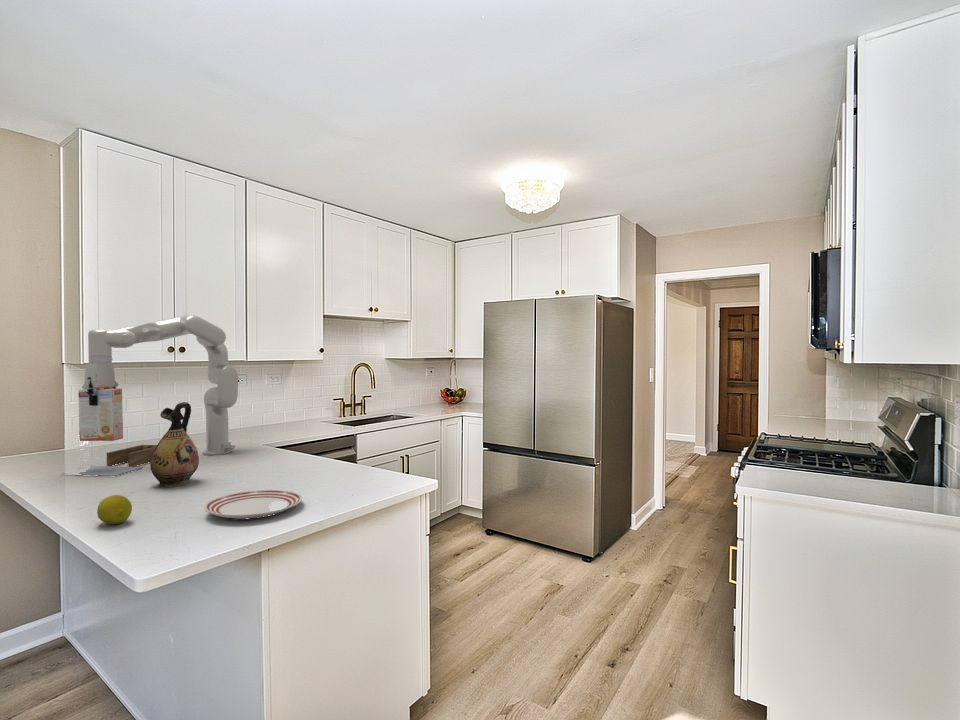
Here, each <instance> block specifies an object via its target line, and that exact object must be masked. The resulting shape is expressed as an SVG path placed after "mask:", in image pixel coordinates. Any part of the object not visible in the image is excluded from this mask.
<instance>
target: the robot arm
mask: <svg viewBox="0 0 960 720" xmlns="http://www.w3.org/2000/svg"><path fill="white" fill-rule="evenodd" d="M87 335H88V337H87V339H88V341H87V342H88V347H87V349H88V353H87V354H88V363H87V364H86V365H85V366H86V367H85V371H84V383H83V385H82V386H81V388H82V389H84V390H85V392H86V393H87V395H88V396H89V405H90V406H97V405H98V399H97V396H95V395H96V393H97V390H98V389H117V387H118V386H119V383H118V382H117V381H116V375H115V370H114V368H115V367H114V364H113V360H114V359H113V357H112V356H113V351H112V350H113V349H112V348H114V349H126V348H130V347H132V346H134V345H135V344H136V345H137V344H140V343H141V344H142V343H149V342H152V343H153V342H159V341H165V340H169V339H173V338H177V337H181V336H182V337H183V336H186V335H194V336H195V337H196V341H197V342H198V344H200V345H201V346H203V348H204V349H205V350H206V351H207V356H208V359H207V360H208V362H207V365H208V366H207V378H208V381H209V382H210V383H211V384H214V385H216V386H213V387H210V388H209V389H207V390H206V391H205V393H204V395H203V403H204V409H205V430H206V431H205V437H206V440H205V441H206V449H204V450H203V451H202V454H203V455H205V456H206V455H207V456H217V455H225V454H230V453H232V452H233V450H235V449H236V446H237V445H234V444H231V443H232V442H229V440H230V439H229V433H230V432H229V412H228V409H229V408H232V407H234V405H236V403H237V400H238V394H239V374H238V373H239V372H238V371H237V369H236V368H235V367H234V366H232V365H230V364H229V351H228V349H227V345H225V342H226V339H227V336H226V333H225V331H224V330H223V329H222V328H220V327H218V326H216V325H215V324H213V323H211V322H209V321H208V320H206V319H204V318H202V317H199V316H198V315H195V314H194V315H192V314H191V315H181V316H177V317H171V318H166V319H162V320H156V321H152V322H146V323H143V324H139V325H133V326H130V327H124V328H120V329H115V330H107V329H92V330H89V331H88V334H87ZM92 390H93V391H92Z"/></svg>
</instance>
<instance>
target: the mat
mask: <svg viewBox="0 0 960 720" xmlns="http://www.w3.org/2000/svg"><path fill="white" fill-rule="evenodd" d="M90 466H91V467H90V469H88V470H86V472H80V473H79V474H81V475H98V476H116V477H118V476H117V475H120V476H122V475H121V474H123V475H125V474H124V473H126V474H129V473H128V472H130V473H132V472H131V471H133V472H136V471H135V470H137V471H139V469H140V470H143V469H144V468H143V466H142V467H141V466H135V467H128V466H120V465H119V466H118V465H115V466H107V465H90ZM142 468H143V469H142ZM98 476H97V477H98Z"/></svg>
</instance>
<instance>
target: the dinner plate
mask: <svg viewBox="0 0 960 720" xmlns="http://www.w3.org/2000/svg"><path fill="white" fill-rule="evenodd" d="M274 501H283V502H287V506H286V507H285V508H283V509H281V510H276V511H270V509H269V507H268V506H269V504H270V505H271V503H272V502H274ZM301 501H303V496H302V495H301V494H300V493H297V492H294V491H291V490H290V491H289V490H282V489H255V490H247V491H240V492H234V493H233V492H232V493H229V494H226V495H225V494H224V495H221V496H218V497H215V498H213V499H211V500H209V501H208V502H206V503H205V504H204V505H203V508H204V511H206V512H207V513H209V514H210V515H213V516H216V517H221V518H226V519H229V518H235V519H234V520H238V519H246V518H257V517H263V516H268V515H272V516H274V515H273V514H275V515H277V514H276V513H278V514H280V513H282V512H284V511H287V510H289V509H291V508H293V507H295V506H296V505H298V504H300V503H301ZM279 512H280V513H279Z"/></svg>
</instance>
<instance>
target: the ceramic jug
mask: <svg viewBox="0 0 960 720" xmlns="http://www.w3.org/2000/svg"><path fill="white" fill-rule="evenodd" d="M182 409H184V414H183V413H182V412H181V411H182ZM191 413H192V406H191V404H190V403H189V402H186V401H182V402H179V403H177V404H176V405H175V406H174V408H173V409H172V408H169V407H166V408H164V409H163V410H161V411H160V417H161V419H164V420H166V421H169V422H171V424H170V427H169V428H168V430H167V431H166V433H164V435H163V436H162V438H161V439H160V440H159V442H158V443H157V444H156V445H157V446H156V448H155V450H154V452H153V454H152V458H151V462H150V463H149V464H150V465H149V466H150V468H149V469H150V471H151V474H152V475H153V477H154V478H155V479H156V480H157V481H158V483H159V486H160V487H162V486H163V487H162V488H164V487H170V486H172V487H178V485H179V486H182V484H183V485H186V484H188V483H189V481H190V480H191V477H192V476H193V475H194V474H195V472H196V471H197V470H198V468H199V464H200V457H199V456H200V455H199V451H198V448H197V446H196V445H195V443H194V441H193V440H192V438H191V437H190V435H189V434H188V432H187V431H188V424H189V421H190V418H191ZM185 483H186V484H185Z"/></svg>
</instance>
